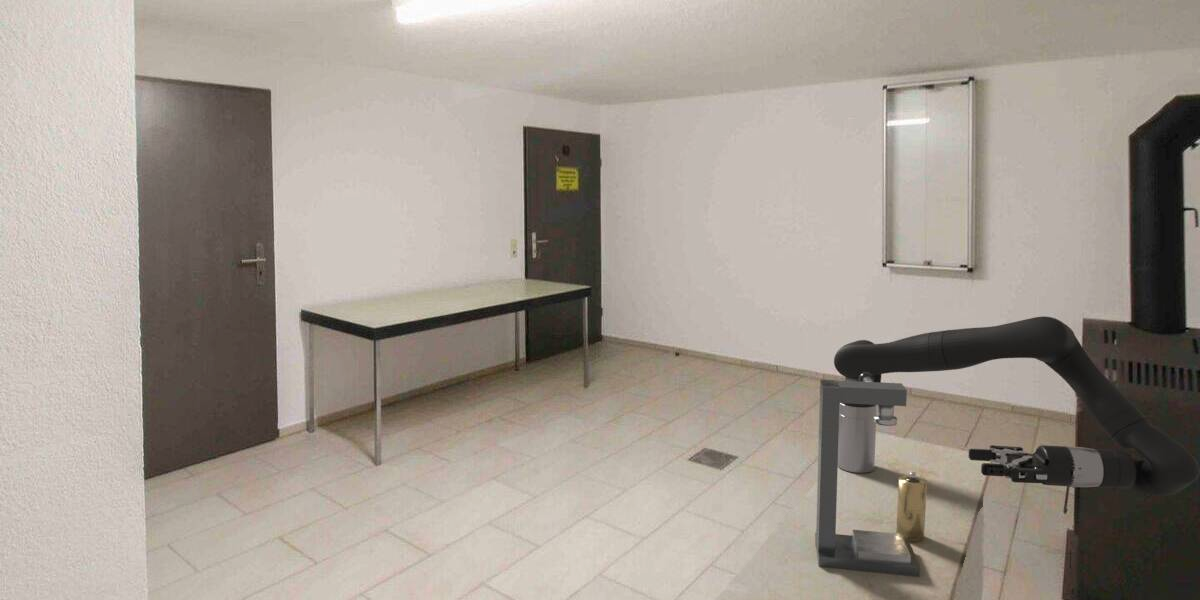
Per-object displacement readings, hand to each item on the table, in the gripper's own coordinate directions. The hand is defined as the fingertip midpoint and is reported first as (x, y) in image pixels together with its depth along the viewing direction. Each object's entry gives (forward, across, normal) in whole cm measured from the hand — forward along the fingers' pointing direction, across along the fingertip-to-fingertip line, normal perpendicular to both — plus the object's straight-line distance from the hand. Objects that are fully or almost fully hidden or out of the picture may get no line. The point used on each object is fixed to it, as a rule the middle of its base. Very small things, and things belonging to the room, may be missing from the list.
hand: (975, 461), depth 135 cm
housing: (+12, 0, +17) cm, 20 cm away
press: (+22, +7, +17) cm, 28 cm away
